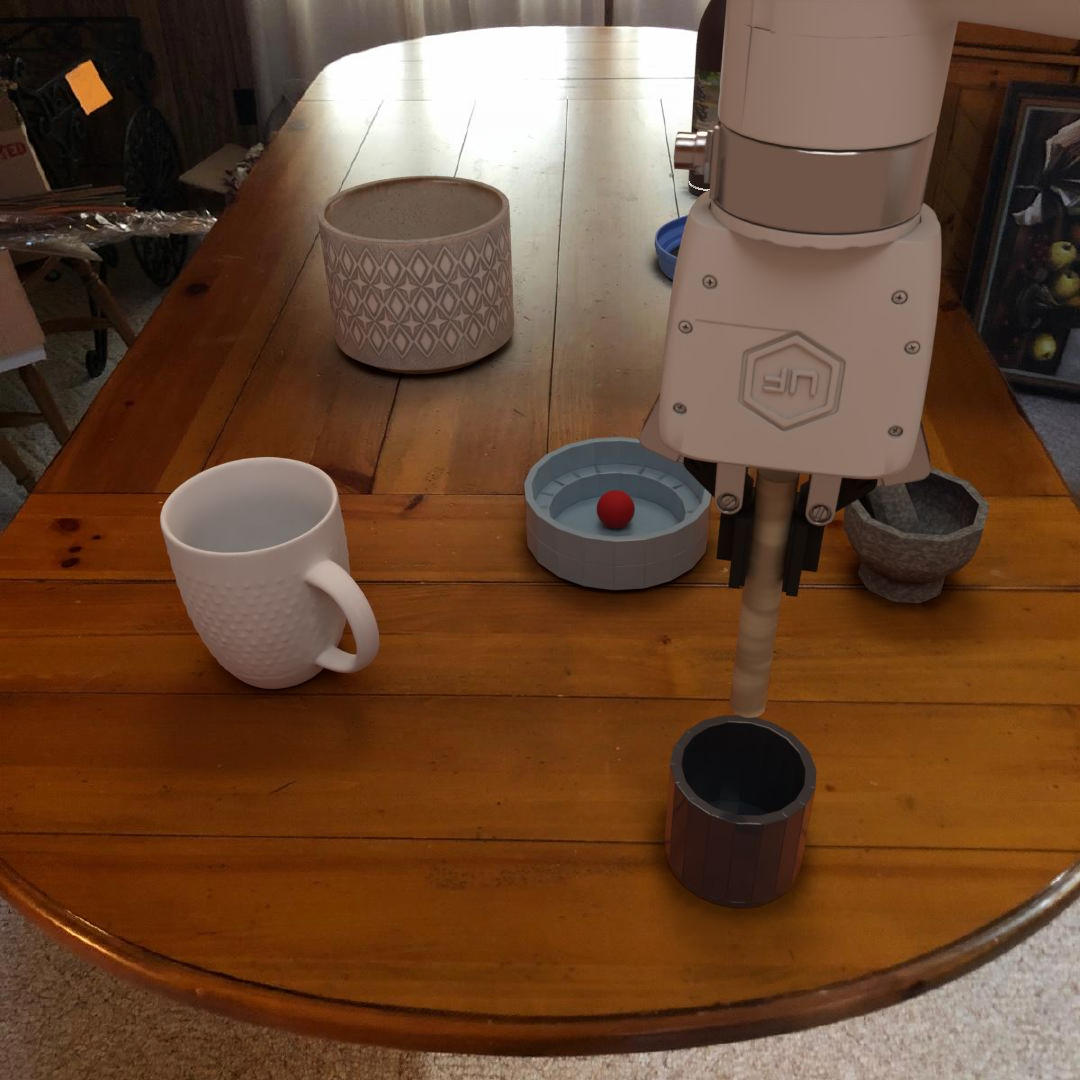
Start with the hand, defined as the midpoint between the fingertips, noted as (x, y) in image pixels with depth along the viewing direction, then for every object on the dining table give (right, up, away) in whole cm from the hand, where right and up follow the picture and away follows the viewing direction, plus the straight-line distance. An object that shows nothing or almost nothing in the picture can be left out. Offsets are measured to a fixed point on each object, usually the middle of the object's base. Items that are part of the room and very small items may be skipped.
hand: (765, 571), depth 50 cm
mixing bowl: (-4, +2, +36) cm, 36 cm away
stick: (0, -7, +5) cm, 9 cm away
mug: (-27, -7, +25) cm, 38 cm away
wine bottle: (+14, +49, +100) cm, 113 cm away
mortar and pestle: (+16, -1, +32) cm, 36 cm away
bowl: (+12, +34, +79) cm, 87 cm away
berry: (-4, +4, +36) cm, 36 cm away
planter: (-22, +22, +65) cm, 72 cm away
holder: (+1, -16, +12) cm, 20 cm away
